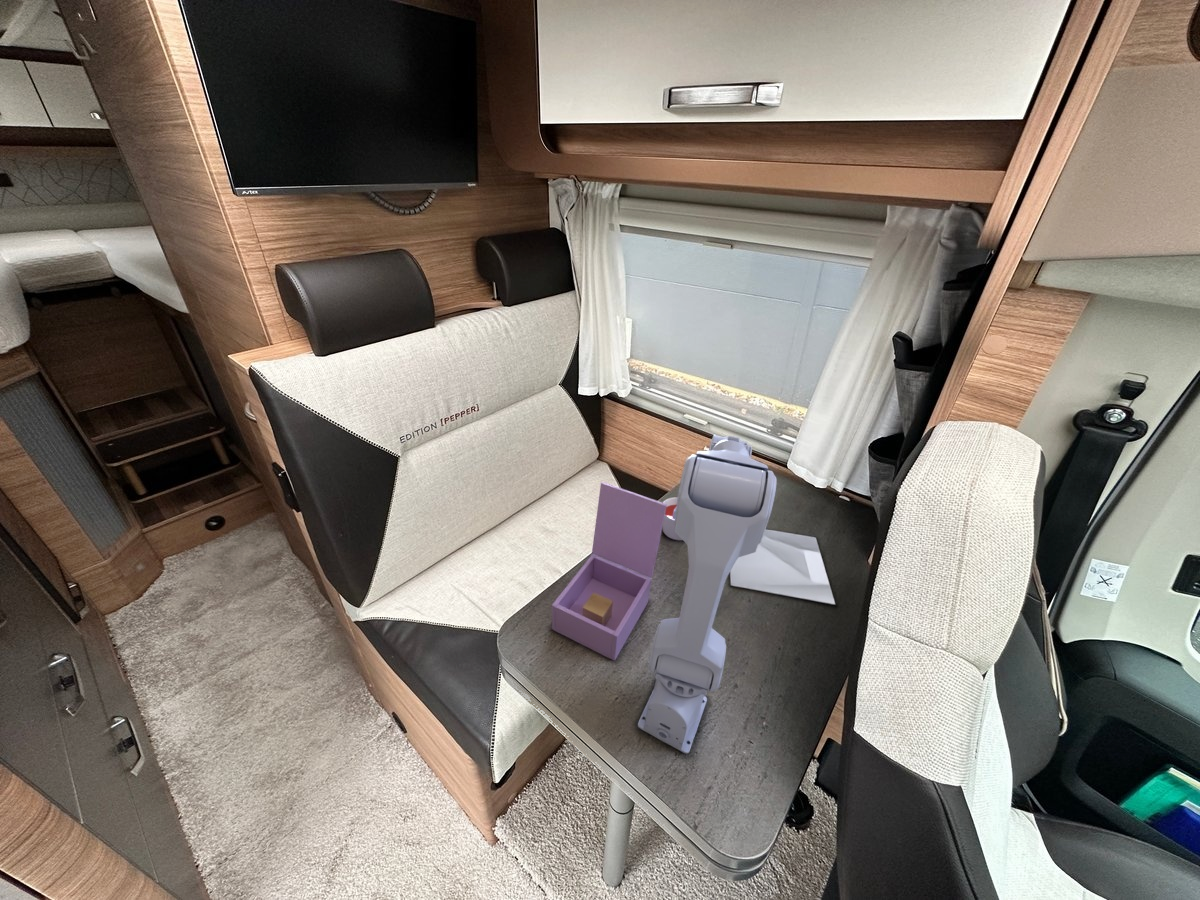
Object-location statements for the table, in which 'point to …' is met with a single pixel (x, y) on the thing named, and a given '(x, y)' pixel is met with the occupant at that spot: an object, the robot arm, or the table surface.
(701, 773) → the table surface
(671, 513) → the candle
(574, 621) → the open box
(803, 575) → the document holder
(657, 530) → the purple box lid
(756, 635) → the table surface
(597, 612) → the block
